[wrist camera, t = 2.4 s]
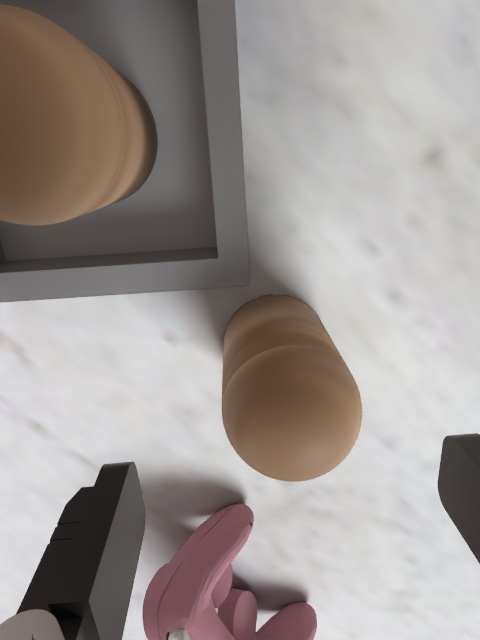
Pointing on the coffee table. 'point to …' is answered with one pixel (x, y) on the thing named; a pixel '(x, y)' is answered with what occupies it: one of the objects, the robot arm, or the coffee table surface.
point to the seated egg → (65, 125)
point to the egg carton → (169, 169)
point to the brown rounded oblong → (287, 391)
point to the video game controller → (215, 590)
